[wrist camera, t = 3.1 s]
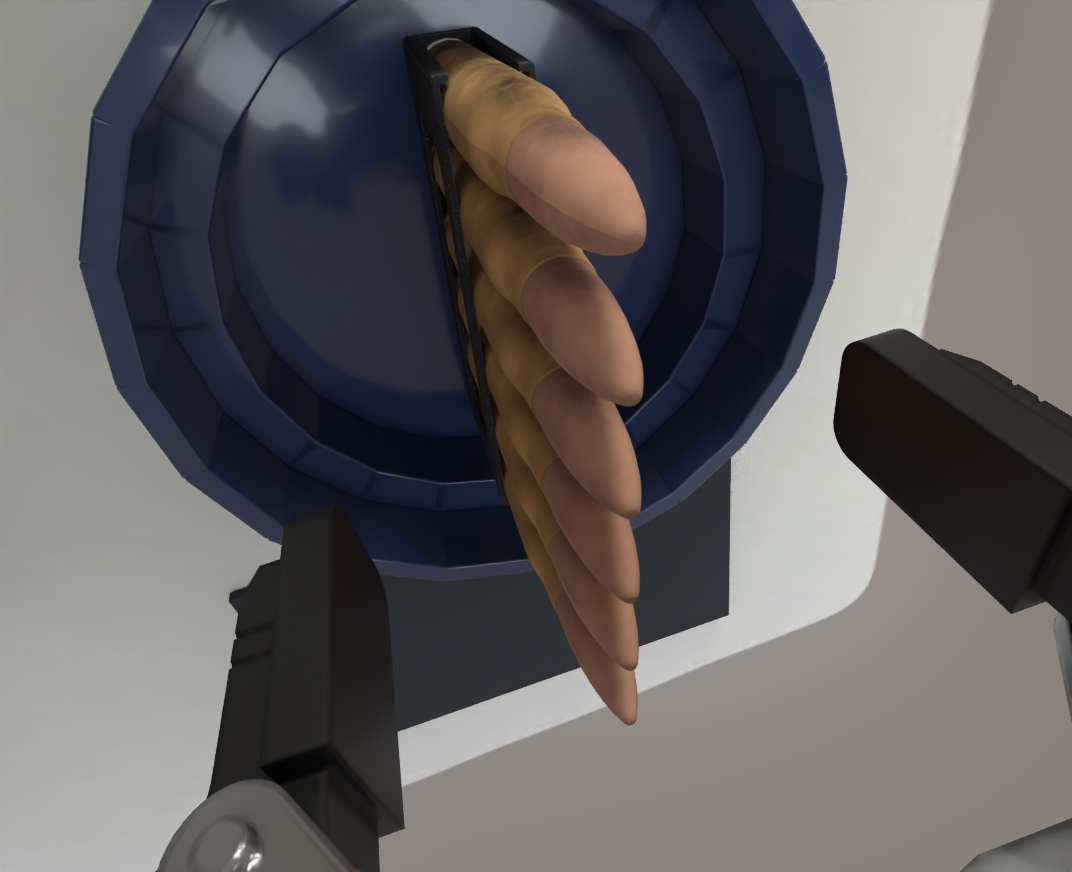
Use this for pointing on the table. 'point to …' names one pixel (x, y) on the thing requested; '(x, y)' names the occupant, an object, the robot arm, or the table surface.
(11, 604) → the table surface
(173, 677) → the table surface
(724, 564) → the desk mat
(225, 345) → the bowl
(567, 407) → the ammunition clip
